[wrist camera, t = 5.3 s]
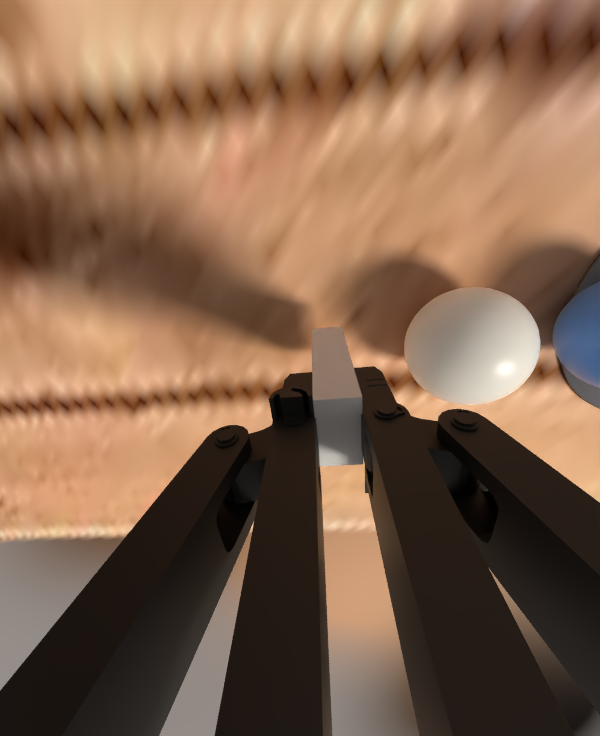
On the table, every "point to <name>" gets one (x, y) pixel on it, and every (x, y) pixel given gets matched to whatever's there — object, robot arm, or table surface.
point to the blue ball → (580, 335)
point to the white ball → (472, 345)
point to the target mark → (584, 390)
